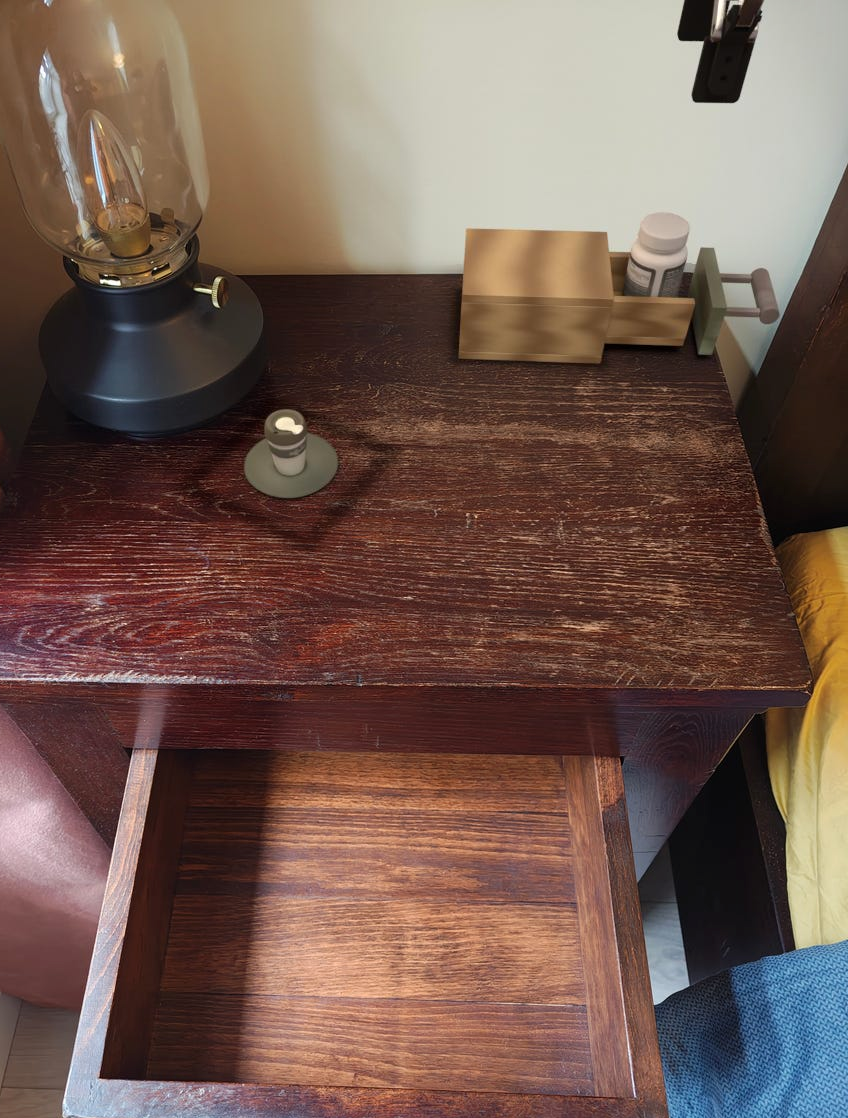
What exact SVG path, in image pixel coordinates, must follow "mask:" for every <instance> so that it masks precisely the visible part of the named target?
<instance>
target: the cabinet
mask: <svg viewBox="0 0 848 1118" xmlns="http://www.w3.org/2000/svg"><path fill="white" fill-rule="evenodd" d="M464 240H465V241H464V253H463V254H464V257H463V272H462V288H461V289H462V291H461V307H460V323H459V324H460V325H459V342H458V343H459V344H458V359H459V360H485V361H486V360H487V361H509V362H511V361H512V362H541V363H542V362H543V363H565V364H566V363H567V364H568V363H569V364H593V365H595V364H596V365H597V364H598V365H599V364H601V363H602V358H603V357H602V356H603V354H604V353H603V352H604V349H605V344H606V343H605V339H606V334H607V330H608V325H609V320H610V315H611V311H612V306H613V301H614V294H613V285H612V275H611V265H610V256H609V252H610V248H609V237H608V232H607V231H590V230H589V231H587V230H586V231H583V230H548V229H547V230H545V229H510V228H509V229H505V228H471V227H470V228H469V227H468V228H467V227H466V229H465V239H464Z"/></svg>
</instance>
